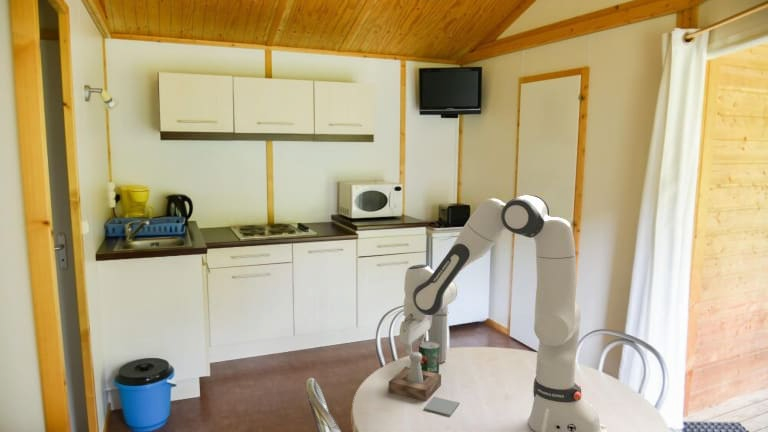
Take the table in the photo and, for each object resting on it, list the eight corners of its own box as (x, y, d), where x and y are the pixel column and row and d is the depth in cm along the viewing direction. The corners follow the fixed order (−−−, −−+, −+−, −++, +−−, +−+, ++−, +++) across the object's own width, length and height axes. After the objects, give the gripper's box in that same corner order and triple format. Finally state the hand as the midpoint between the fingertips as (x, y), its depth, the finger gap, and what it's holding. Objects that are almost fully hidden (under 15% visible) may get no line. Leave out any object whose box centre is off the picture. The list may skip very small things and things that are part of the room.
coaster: (459, 404, 167) (459, 402, 167) (450, 416, 159) (450, 414, 159) (434, 398, 171) (434, 396, 171) (423, 409, 163) (423, 408, 163)
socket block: (440, 385, 181) (441, 374, 180) (426, 401, 168) (426, 390, 168) (405, 377, 187) (405, 366, 187) (388, 392, 175) (388, 381, 174)
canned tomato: (413, 371, 192) (414, 344, 190) (428, 366, 197) (428, 339, 196) (429, 378, 186) (429, 350, 185) (443, 372, 191) (444, 344, 190)
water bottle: (441, 365, 197) (442, 303, 194) (424, 360, 202) (425, 300, 199) (452, 358, 205) (454, 298, 202) (436, 354, 209) (437, 295, 206)
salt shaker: (422, 393, 174) (422, 357, 173) (405, 391, 175) (406, 355, 174) (424, 385, 180) (425, 350, 178) (408, 384, 181) (409, 349, 180)
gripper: (412, 320, 164) (411, 361, 166) (435, 304, 182) (434, 341, 184) (395, 317, 167) (393, 357, 168) (419, 302, 185) (418, 338, 186)
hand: (415, 349), depth 176 cm, fingers open, 8 cm apart
